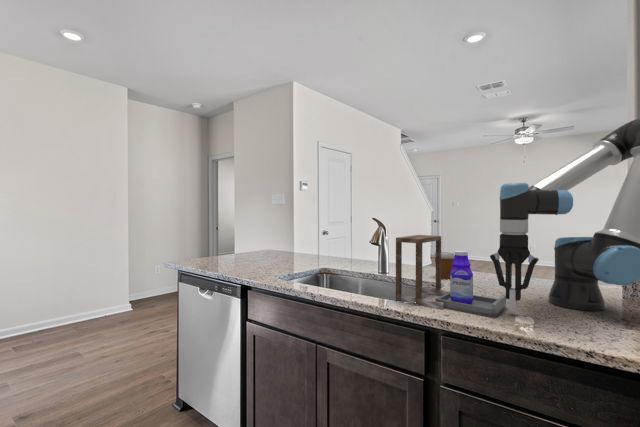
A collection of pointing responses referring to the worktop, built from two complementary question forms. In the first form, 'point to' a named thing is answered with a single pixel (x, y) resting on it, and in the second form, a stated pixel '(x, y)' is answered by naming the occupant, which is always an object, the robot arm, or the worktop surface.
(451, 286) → the bottle
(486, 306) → the tray
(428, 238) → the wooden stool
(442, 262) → the disposable coffee cup
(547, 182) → the robot arm
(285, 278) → the worktop surface
